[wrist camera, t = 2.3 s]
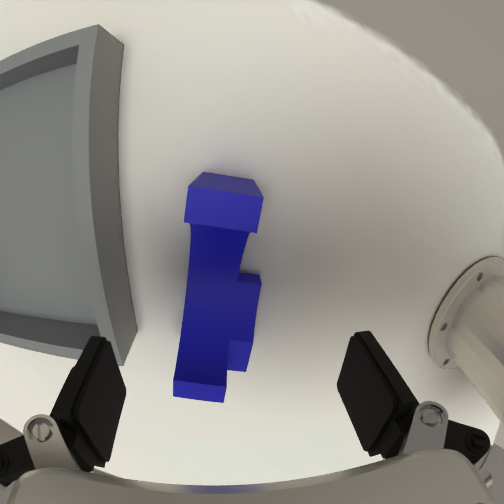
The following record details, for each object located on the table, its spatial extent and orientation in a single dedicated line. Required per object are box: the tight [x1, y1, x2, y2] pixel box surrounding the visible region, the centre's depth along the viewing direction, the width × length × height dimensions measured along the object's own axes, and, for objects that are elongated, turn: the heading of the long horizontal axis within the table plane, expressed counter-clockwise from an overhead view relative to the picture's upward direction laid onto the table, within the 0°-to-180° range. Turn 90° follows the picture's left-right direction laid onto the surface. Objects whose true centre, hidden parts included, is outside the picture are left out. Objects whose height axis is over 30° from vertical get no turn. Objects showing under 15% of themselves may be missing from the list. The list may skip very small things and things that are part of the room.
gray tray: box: [0, 24, 138, 366], centre depth 14 cm, size 16×20×4 cm
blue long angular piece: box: [173, 172, 264, 403], centre depth 16 cm, size 12×4×6 cm, turn 170°
